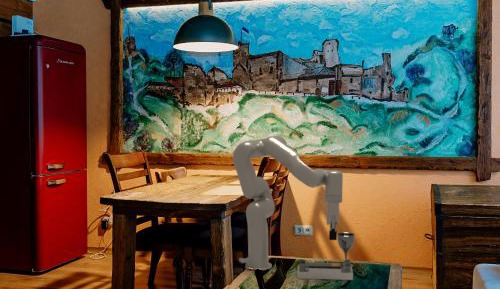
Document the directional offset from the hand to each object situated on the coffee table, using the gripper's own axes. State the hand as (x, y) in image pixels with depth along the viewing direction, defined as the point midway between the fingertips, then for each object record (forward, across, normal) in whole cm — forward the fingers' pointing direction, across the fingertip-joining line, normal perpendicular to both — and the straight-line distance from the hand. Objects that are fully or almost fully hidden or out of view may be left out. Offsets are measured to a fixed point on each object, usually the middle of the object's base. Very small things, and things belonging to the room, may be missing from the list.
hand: (332, 239), depth 243 cm
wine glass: (+17, -18, +7) cm, 25 cm away
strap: (+12, 0, -4) cm, 13 cm away
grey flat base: (+16, 0, -3) cm, 17 cm away
